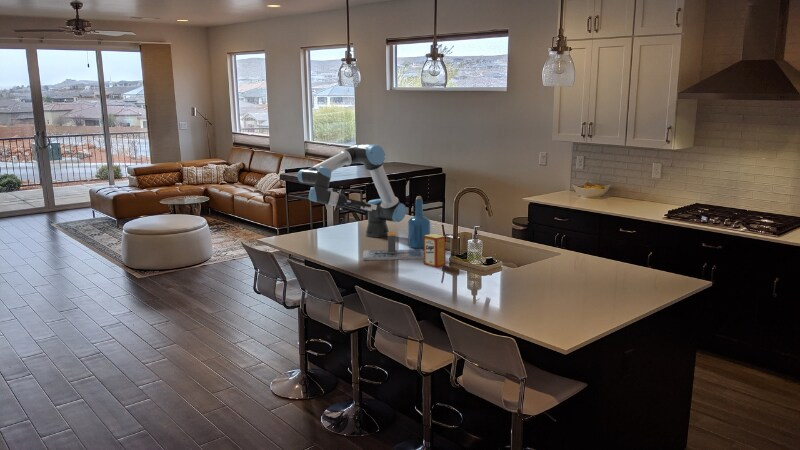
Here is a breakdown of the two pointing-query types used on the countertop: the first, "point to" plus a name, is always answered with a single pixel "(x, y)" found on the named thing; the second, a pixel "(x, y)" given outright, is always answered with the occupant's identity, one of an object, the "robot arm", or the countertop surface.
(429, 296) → the countertop surface
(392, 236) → the breaker handle
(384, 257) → the panel
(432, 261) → the baking soda box
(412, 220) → the wine bottle
